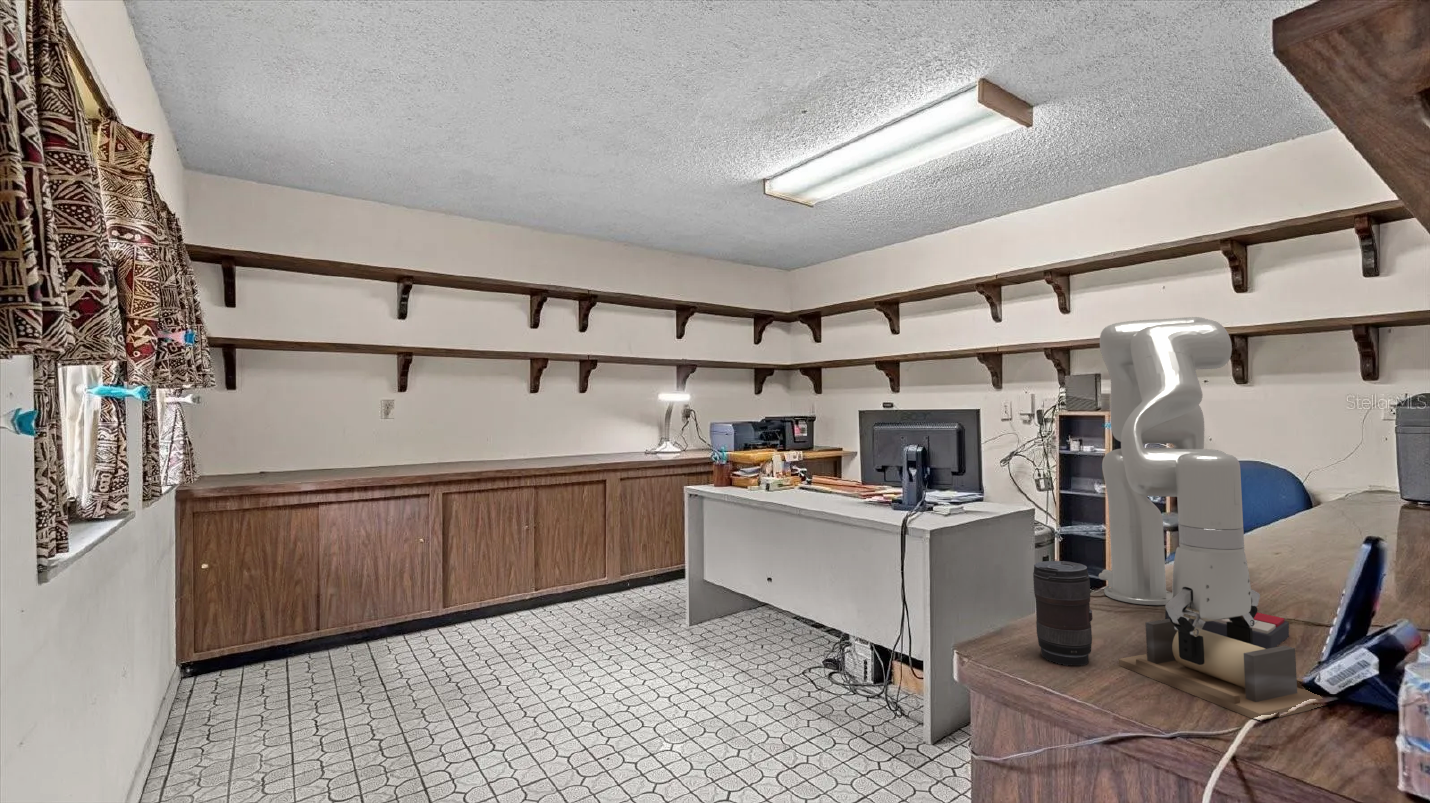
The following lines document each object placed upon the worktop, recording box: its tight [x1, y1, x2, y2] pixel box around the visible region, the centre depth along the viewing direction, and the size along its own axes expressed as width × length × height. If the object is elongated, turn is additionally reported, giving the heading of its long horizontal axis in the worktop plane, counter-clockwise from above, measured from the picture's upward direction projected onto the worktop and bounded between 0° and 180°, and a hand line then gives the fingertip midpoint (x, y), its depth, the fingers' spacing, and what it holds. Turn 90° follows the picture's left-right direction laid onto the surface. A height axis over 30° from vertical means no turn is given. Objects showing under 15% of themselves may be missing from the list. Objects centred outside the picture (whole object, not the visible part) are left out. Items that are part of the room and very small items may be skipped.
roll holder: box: [1118, 618, 1323, 719], centre depth 93 cm, size 20×14×7 cm
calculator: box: [1164, 609, 1290, 649], centre depth 114 cm, size 11×4×15 cm
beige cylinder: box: [1172, 630, 1265, 688], centre depth 92 cm, size 10×6×6 cm
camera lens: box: [1032, 560, 1093, 666], centre depth 104 cm, size 8×8×15 cm
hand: (1216, 656), depth 93 cm, fingers open, 9 cm apart
